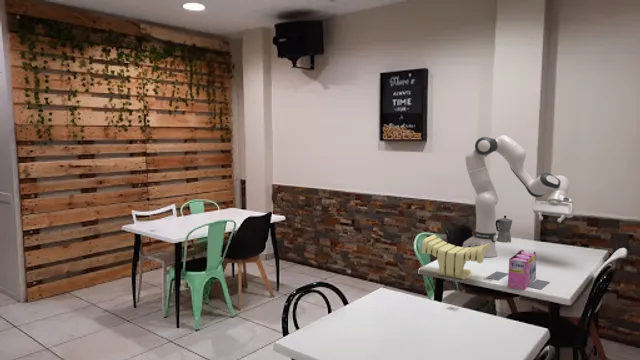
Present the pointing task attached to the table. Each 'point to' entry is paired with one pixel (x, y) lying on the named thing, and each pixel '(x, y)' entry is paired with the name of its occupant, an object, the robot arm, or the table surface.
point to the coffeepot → (504, 229)
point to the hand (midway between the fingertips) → (549, 220)
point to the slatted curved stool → (453, 256)
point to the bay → (536, 284)
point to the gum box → (522, 269)
